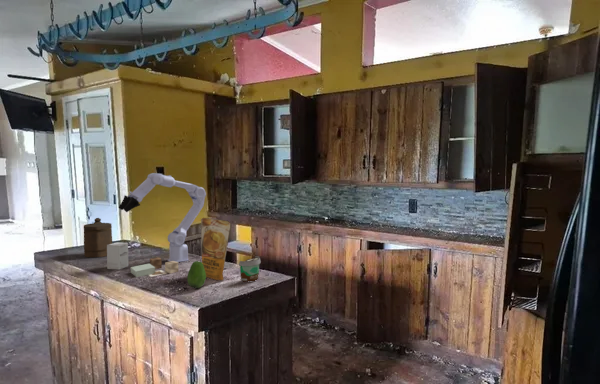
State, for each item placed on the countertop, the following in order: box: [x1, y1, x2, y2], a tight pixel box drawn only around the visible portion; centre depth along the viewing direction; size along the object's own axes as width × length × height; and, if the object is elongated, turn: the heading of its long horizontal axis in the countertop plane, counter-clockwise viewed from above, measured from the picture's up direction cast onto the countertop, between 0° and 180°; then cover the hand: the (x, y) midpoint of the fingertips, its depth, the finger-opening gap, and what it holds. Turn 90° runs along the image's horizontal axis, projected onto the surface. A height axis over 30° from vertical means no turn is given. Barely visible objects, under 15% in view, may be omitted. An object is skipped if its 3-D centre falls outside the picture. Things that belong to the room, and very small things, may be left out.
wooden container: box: [83, 217, 113, 259], centre depth 219 cm, size 15×15×22 cm
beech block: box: [164, 261, 179, 275], centre depth 185 cm, size 4×4×5 cm
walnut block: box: [149, 256, 163, 270], centre depth 192 cm, size 4×4×5 cm
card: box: [148, 269, 168, 278], centre depth 183 cm, size 8×8×1 cm
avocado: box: [186, 260, 207, 289], centre depth 162 cm, size 8×8×12 cm
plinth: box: [130, 263, 156, 278], centre depth 182 cm, size 9×9×3 cm
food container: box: [238, 255, 262, 283], centre depth 173 cm, size 12×6×10 cm, turn 148°
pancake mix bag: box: [200, 217, 232, 281], centre depth 177 cm, size 7×19×28 cm, turn 52°
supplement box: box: [106, 242, 129, 271], centre depth 192 cm, size 7×7×13 cm
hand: (122, 209), depth 187 cm, fingers open, 7 cm apart
